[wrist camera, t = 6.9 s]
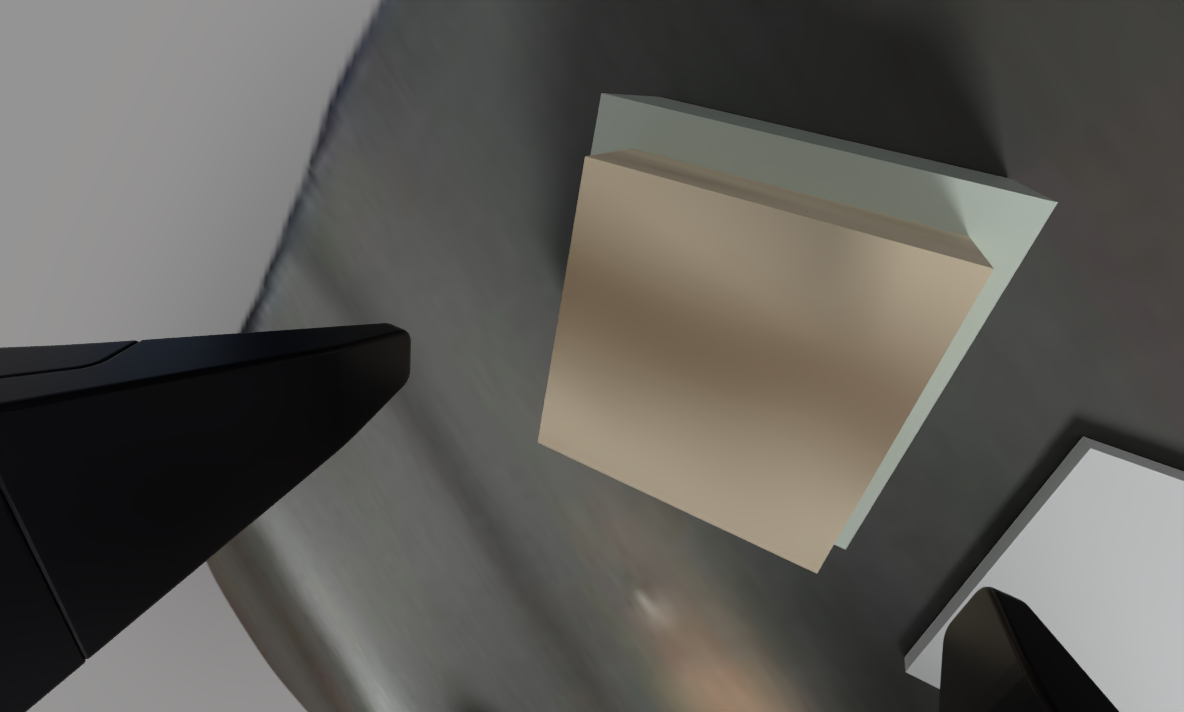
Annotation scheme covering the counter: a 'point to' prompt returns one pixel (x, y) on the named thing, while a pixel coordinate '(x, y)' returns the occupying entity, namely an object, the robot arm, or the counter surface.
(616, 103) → the dish
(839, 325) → the lid
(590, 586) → the counter surface
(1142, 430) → the counter surface
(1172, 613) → the mat
